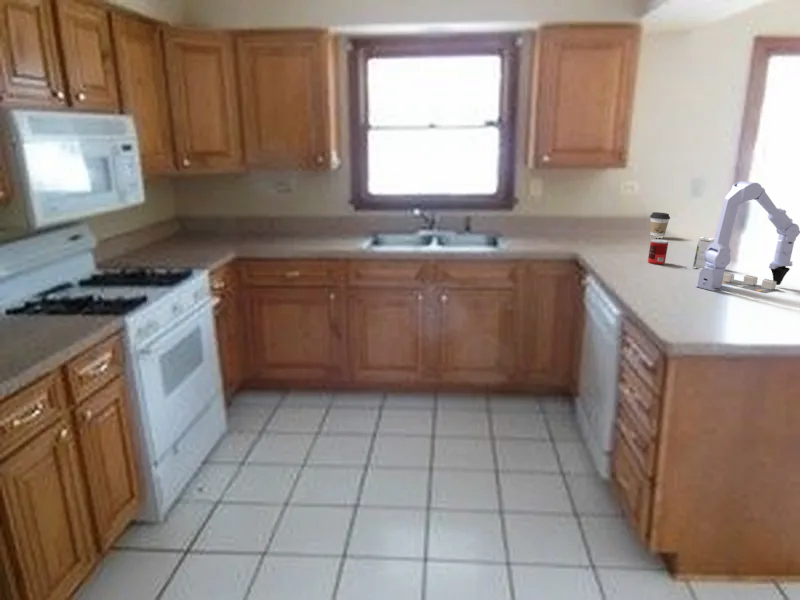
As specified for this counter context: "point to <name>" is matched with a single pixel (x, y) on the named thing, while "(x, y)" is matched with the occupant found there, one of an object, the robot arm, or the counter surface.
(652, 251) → the canned food
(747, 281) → the middle slider
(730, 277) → the block
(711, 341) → the counter surface
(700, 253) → the syrup box
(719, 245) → the robot arm
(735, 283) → the switch panel
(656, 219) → the coffee cup
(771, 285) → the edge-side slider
